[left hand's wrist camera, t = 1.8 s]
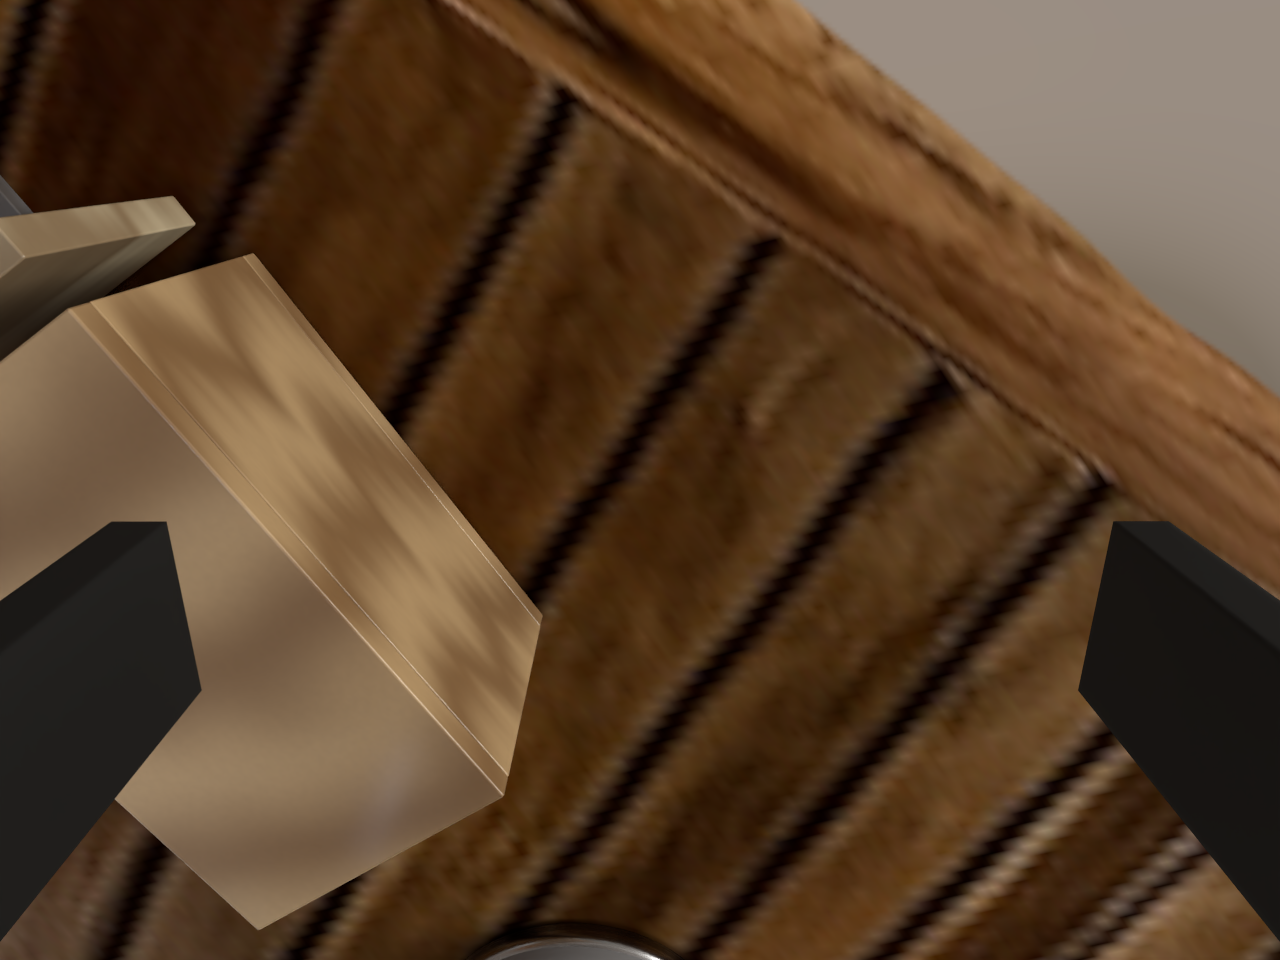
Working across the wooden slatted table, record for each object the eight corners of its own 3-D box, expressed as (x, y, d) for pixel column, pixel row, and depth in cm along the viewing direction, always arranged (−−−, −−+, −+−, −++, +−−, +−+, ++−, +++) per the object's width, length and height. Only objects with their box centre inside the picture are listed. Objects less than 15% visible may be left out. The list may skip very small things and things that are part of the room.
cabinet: (57, 400, 35) (-198, 515, 24) (253, 252, 33) (67, 307, 22) (358, 724, 40) (257, 932, 30) (543, 615, 38) (504, 797, 28)
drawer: (-134, 200, 31) (-436, 225, 22) (48, 40, 29) (-205, -1, 21) (300, 665, 38) (198, 822, 29) (469, 560, 36) (414, 694, 27)
